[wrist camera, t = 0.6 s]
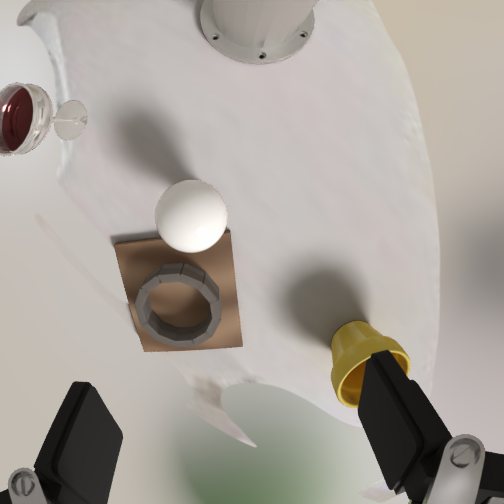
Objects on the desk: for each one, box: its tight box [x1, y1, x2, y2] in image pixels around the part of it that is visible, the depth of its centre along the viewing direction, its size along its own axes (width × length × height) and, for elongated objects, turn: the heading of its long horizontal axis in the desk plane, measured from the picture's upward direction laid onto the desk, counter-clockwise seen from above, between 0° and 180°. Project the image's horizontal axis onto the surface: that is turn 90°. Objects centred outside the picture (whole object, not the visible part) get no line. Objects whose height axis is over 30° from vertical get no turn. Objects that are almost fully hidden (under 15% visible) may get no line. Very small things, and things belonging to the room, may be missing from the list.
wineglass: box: [0, 82, 87, 156], centre depth 23 cm, size 7×7×12 cm
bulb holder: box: [114, 231, 243, 352], centre depth 35 cm, size 16×14×4 cm
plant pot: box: [331, 321, 410, 408], centre depth 37 cm, size 10×10×10 cm
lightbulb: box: [155, 180, 228, 253], centre depth 28 cm, size 6×6×11 cm
